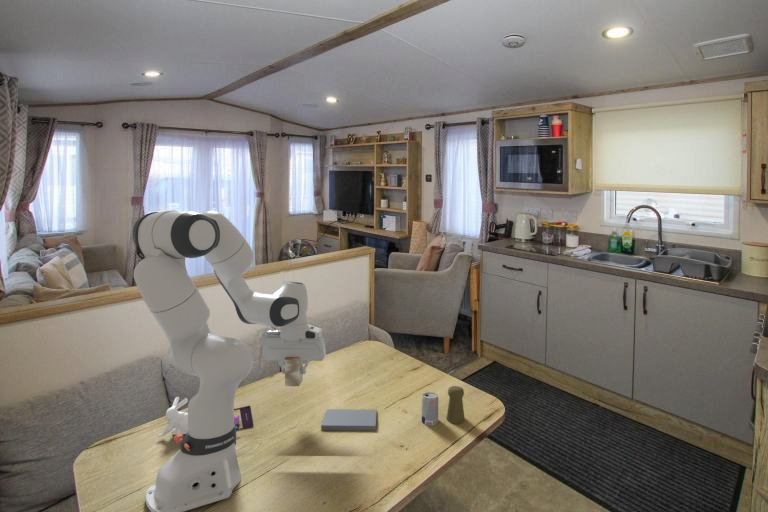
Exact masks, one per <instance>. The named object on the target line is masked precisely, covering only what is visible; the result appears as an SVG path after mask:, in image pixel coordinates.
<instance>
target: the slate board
mask: <svg viewBox="0 0 768 512" xmlns="http://www.w3.org/2000/svg"><path fill="white" fill-rule="evenodd" d="M377 413H378V412H377V409H346V408H345V409H339V408H337V409H334V408H331V409H329V408H328V409H326V410H325V413H324V416H323V418H322V419H323V420H322V422H321V423H320V430H321V431H376V428H377Z"/></svg>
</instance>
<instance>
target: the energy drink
mask: <svg viewBox="0 0 768 512" xmlns="http://www.w3.org/2000/svg"><path fill="white" fill-rule="evenodd" d="M439 399H440V398H439V395H438V394H437V393H435V392H428V391H427V392H424V393H422V396H421V423H422V424H423V425H426V426H428V427H429V426H431V427H432V426H436V425H437V424H438V423H439Z"/></svg>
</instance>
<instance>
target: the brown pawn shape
mask: <svg viewBox="0 0 768 512" xmlns="http://www.w3.org/2000/svg"><path fill="white" fill-rule="evenodd" d="M464 390H465V389H463V387H461V386H459V385H452V386H449V387H448V389H447V394H448V396H449V399H448V405H447V411H446V412H447V414H446V420H447V422H448V423H450V424H454V425H461V424H464V423H465V422H466V421H465V411H464V402H463V397H464V395H465V391H464Z"/></svg>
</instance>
